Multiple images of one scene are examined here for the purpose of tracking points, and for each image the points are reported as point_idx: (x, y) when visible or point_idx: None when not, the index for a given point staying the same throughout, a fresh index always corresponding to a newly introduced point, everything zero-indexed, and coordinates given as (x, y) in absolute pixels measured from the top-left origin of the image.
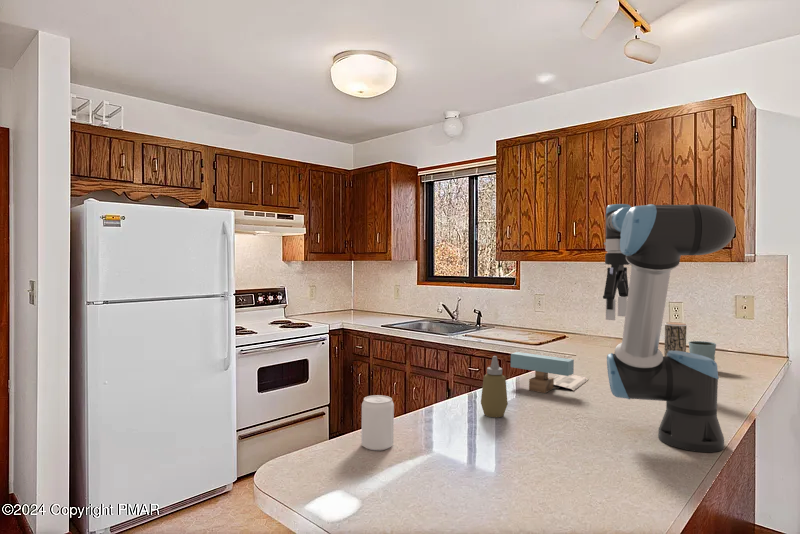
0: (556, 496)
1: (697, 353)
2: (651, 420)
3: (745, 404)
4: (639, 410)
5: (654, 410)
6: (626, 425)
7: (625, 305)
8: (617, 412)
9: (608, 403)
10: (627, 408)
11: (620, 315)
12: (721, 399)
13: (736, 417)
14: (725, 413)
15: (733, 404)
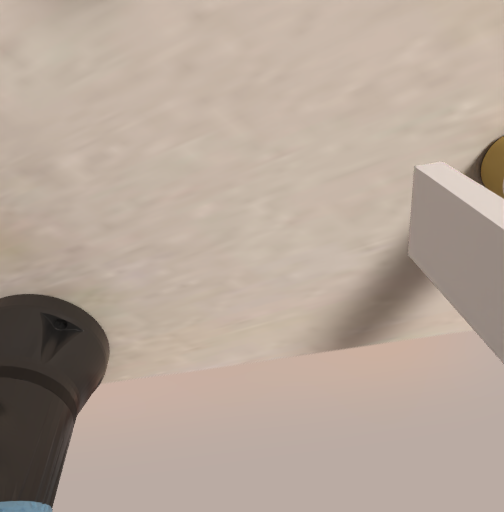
0: None
1: None
2: (128, 233)
3: None
4: (203, 168)
5: (241, 199)
6: (11, 207)
7: (484, 329)
8: (117, 128)
9: (203, 48)
10: (195, 130)
11: (415, 201)
12: None
13: (329, 342)
14: (349, 319)
15: None
